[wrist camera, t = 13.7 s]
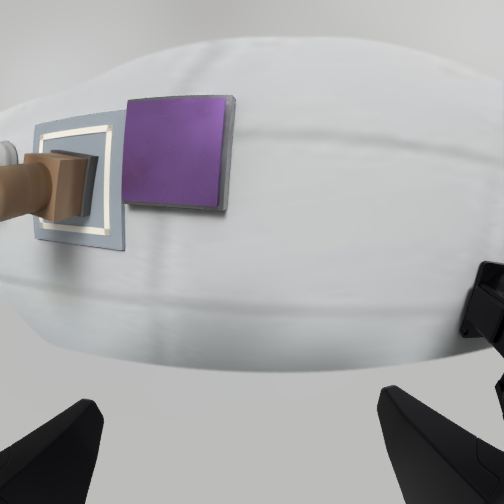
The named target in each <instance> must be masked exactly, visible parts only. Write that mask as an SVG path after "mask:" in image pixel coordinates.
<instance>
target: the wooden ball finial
mask: <svg viewBox="0 0 504 504" xmlns="http://www.w3.org/2000/svg"><path fill="white" fill-rule="evenodd" d="M98 159H99V156H94V155H88V154H82V153H76V152H70V151H64V150H51V152H50V153H29V154H25V155H24V162H23V164H15V165H6V166H0V222H1V221H4V220H8V219H11V218H15V217H18V216H22V215H25V214H32V215H35V216H37V217H40V218H43V219H46V220H48V221H51V222H57V221H60V220H63V219H67V218H70V217H73V216H79V217H82V218H83V217H86V216H89V215H90V213H91V204H92V196H93V189H94V182H95V176H96V170H97V164H98Z"/></svg>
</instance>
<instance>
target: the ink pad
mask: <svg viewBox="0 0 504 504" xmlns="http://www.w3.org/2000/svg"><path fill="white" fill-rule="evenodd" d="M235 104H236V99H235V98H234V97H233V95H190V96H169V97H154V98H143V99H133V100H128V103H127V111H126V121H125V131H124V144H123V161H122V188H121V204H134V205H150V206H165V207H179V208H192V209H205V210H216V211H224V210H226V209H227V204H228V189H229V175H230V162H231V150H232V138H233V126H234V115H235Z"/></svg>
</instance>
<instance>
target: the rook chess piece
mask: <svg viewBox="0 0 504 504" xmlns="http://www.w3.org/2000/svg"><path fill="white" fill-rule="evenodd" d="M15 164H17V153H16V150H15V147H14V146H13V145H12V144H11V143H10V142H9V141H4V142H0V166H6V165H15Z"/></svg>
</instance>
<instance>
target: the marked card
mask: <svg viewBox="0 0 504 504" xmlns="http://www.w3.org/2000/svg"><path fill="white" fill-rule="evenodd" d="M126 111H127V110H119V111H110V112H103V113H96V114H89V115H83V116H77V117H71V118H66V119H61V120H56V121H51V122H46V123H42V124H38V125H35V131H34V144H33V153H50V152H51V150H64V151H70V152H76V153H82V154H88V155H94V156H99V159H98V164H97V170H96V176H95V182H94V189H93V196H92V204H91V213H90V215H89V216H86V217H83V218H82V217H79V216H73V217H70V218H67V219H63V220H60V221H57V222H51V221H48V220H46V219H43V218H40V217H37V216H35V215H33V219H34V232H35V238H37V239H44V240H50V241H57V242H65V243H72V244H79V245H86V246H93V247H101V248H108V249H116V250H124V249H125V234H124V204H121V188H122V161H123V144H124V131H125V121H126Z"/></svg>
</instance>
